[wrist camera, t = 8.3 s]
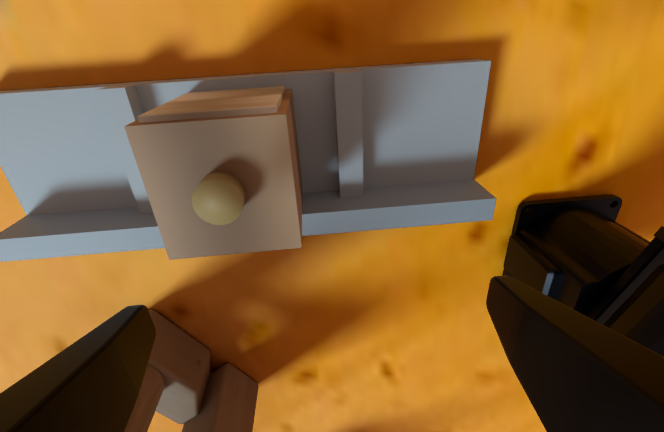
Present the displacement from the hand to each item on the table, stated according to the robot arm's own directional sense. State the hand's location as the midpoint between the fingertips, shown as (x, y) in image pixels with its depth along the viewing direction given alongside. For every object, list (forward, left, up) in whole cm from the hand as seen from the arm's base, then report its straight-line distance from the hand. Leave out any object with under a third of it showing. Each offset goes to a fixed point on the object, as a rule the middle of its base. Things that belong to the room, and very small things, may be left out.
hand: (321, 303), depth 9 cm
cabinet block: (+3, -2, -10) cm, 11 cm away
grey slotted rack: (+3, -1, -12) cm, 12 cm away
